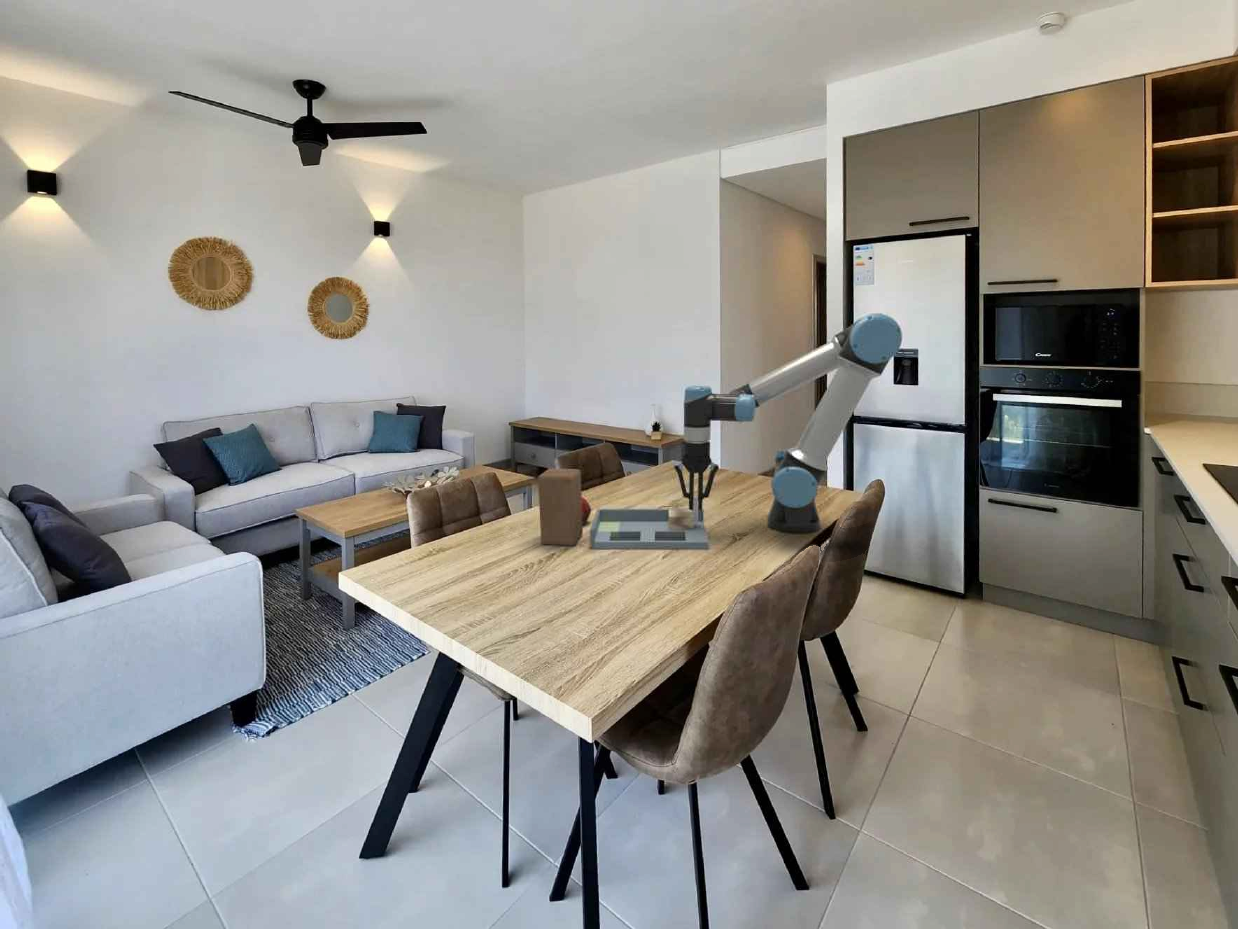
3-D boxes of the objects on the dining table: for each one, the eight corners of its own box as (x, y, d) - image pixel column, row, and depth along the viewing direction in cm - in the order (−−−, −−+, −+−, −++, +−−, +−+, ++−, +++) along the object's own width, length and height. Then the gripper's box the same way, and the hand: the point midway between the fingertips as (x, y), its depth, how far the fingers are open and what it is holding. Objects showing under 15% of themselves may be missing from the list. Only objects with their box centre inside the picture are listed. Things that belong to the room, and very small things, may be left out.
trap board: (702, 526, 182) (703, 508, 181) (708, 549, 162) (708, 529, 161) (597, 526, 184) (597, 508, 183) (590, 548, 164) (590, 529, 163)
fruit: (586, 517, 193) (585, 487, 191) (594, 525, 185) (593, 494, 183) (558, 520, 191) (557, 489, 189) (565, 529, 182) (564, 497, 180)
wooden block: (574, 546, 166) (571, 476, 162) (540, 545, 168) (536, 475, 164) (583, 535, 176) (581, 468, 172) (550, 533, 178) (547, 467, 174)
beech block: (692, 522, 179) (692, 509, 178) (693, 529, 172) (693, 516, 171) (668, 522, 179) (668, 509, 179) (669, 529, 173) (668, 516, 172)
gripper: (718, 438, 173) (716, 516, 179) (673, 438, 174) (672, 516, 179) (721, 443, 166) (719, 524, 171) (674, 443, 167) (673, 524, 172)
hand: (695, 520), depth 175 cm, fingers closed
